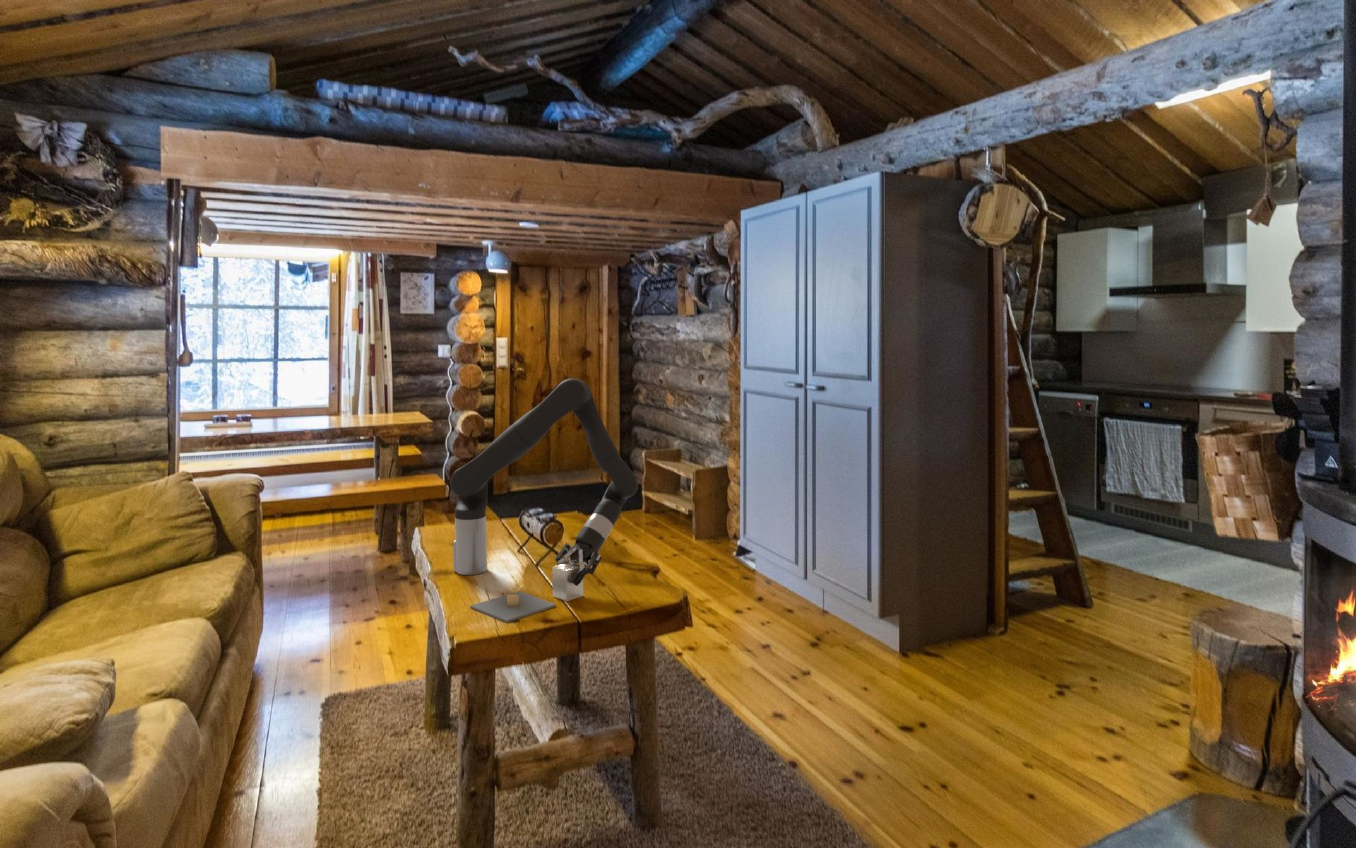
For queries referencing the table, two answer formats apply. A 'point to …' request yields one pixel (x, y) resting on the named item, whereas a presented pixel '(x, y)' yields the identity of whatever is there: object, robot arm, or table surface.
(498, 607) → the mat
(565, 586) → the block
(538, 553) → the table surface
